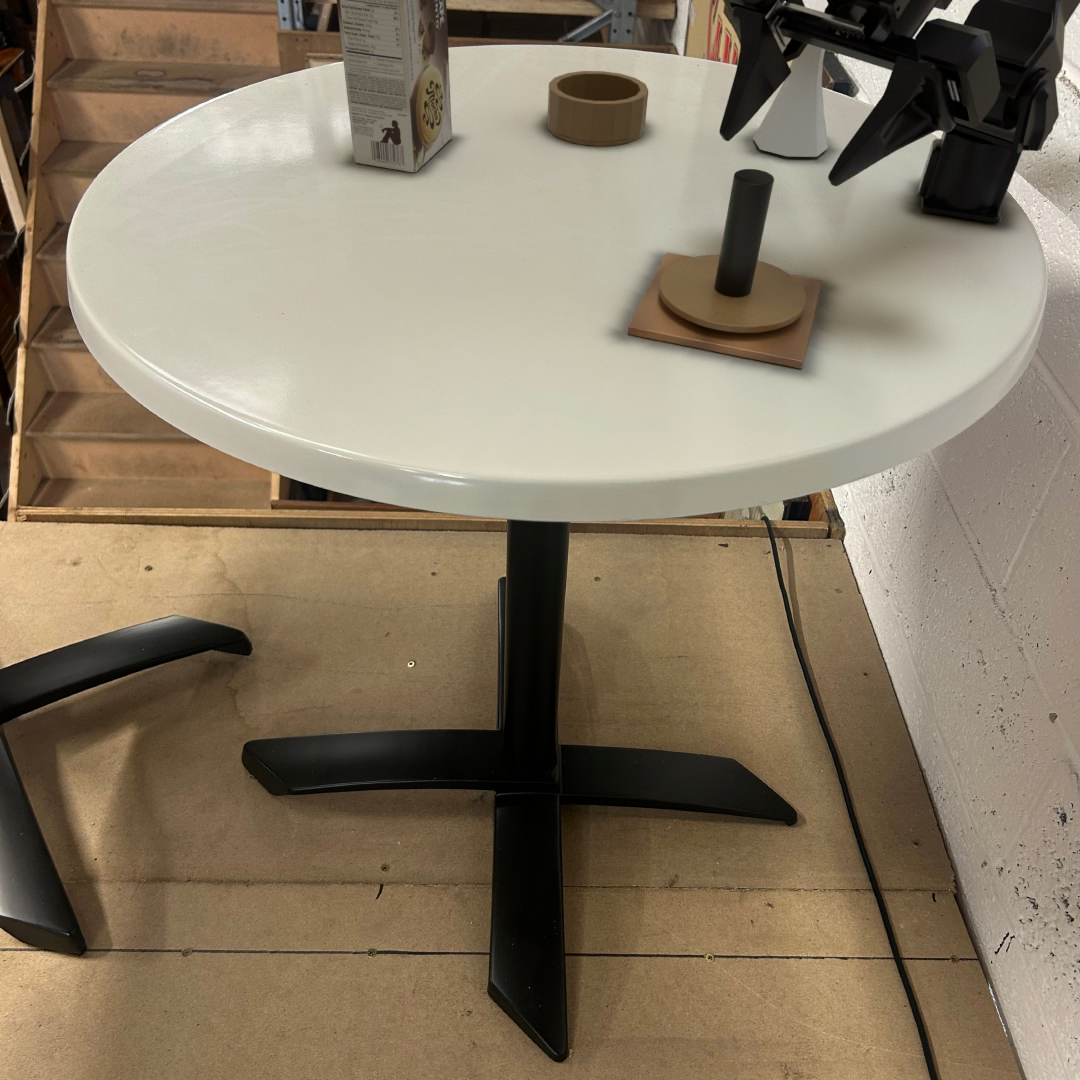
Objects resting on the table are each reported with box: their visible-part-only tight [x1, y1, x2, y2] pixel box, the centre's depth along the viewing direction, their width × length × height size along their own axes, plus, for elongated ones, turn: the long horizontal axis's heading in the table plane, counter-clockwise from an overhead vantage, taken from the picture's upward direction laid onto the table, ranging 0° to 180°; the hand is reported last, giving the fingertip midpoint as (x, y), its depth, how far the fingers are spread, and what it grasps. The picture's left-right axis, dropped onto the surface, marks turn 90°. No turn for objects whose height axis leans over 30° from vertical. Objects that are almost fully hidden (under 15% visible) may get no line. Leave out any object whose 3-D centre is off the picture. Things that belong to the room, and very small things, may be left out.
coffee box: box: [336, 0, 453, 173], centre depth 80 cm, size 9×6×16 cm
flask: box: [753, 44, 829, 158], centre depth 86 cm, size 7×7×10 cm
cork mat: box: [627, 252, 823, 369], centre depth 66 cm, size 12×12×1 cm
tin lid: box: [659, 168, 806, 333], centre depth 63 cm, size 10×10×9 cm
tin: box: [547, 70, 649, 147], centre depth 90 cm, size 10×10×4 cm
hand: (775, 158), depth 60 cm, fingers open, 9 cm apart
